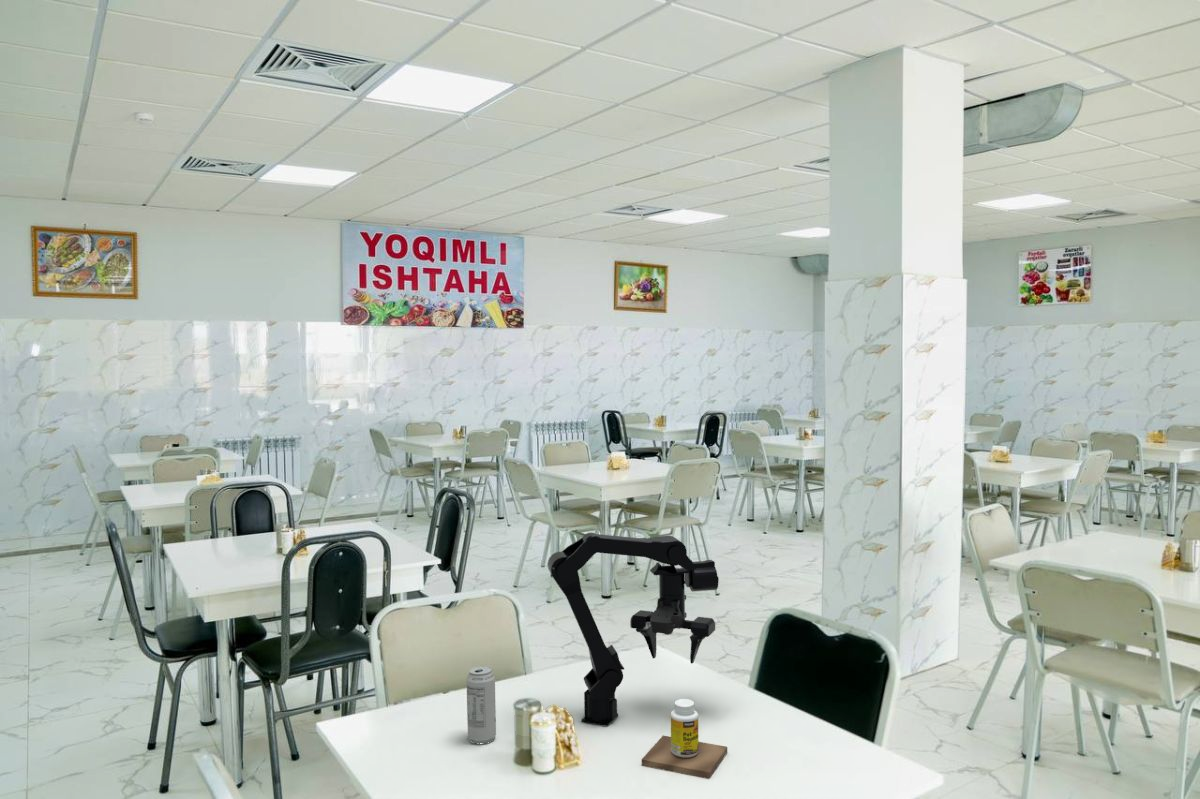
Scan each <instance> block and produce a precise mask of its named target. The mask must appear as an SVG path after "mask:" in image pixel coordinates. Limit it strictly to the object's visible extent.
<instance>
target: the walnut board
mask: <svg viewBox="0 0 1200 799" xmlns="http://www.w3.org/2000/svg"><path fill="white" fill-rule="evenodd" d="M698 745H699V747H698V748H699V749H698V753H697V754H696V755H695V756H693V757H689V758H682V757H678V756H676V755H674V754H673V753H672V751H671V736H669V735H663V734H662V736H661V737H660V738H659V739H658V740H657V741H656V743H654V745H653V746H652V747H651V748H650V749H649V750H648V752H647V753H646V754H645V755H644V756H643V757H642V758H641V766H642V767H643V766H644V767H648V768H654V769H658V770H663V769H664V771H668V770H669V772H674V771H675V772H674V773H678V772H679V774H683V773H684V775H688V774H689V775H688V776H695V777H700V778H704V777H705V778H706V779H709V778H710V779H711V777H712V776H713V774H714V773H715V771H716V770H717V769H718V767H719V766H720V764H721V763H722V762H723V760H724V758H725V757H726V755H727V753H728V746H725V745H720V744H714V743H708V742H702V741H698Z"/></svg>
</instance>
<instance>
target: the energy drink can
mask: <svg viewBox="0 0 1200 799" xmlns="http://www.w3.org/2000/svg"><path fill="white" fill-rule="evenodd" d="M468 672H469V673H468V674H467V676H466V712H467V715H466V720H467V738H468V739H469V740H470V742H471V741H472V742H473V744H474V743H479V744H478V745H481V744H480V743H486V744H489V743H488V742H490V741H491V742H493V741H494V738H495V737H497V736H496V735H497V718H496V717H497V716H496V713H497V710H496V707H497V706H496V675H495V674H494V673H493V668H492V667H491V666H484V665H480V666H474V667H471V668H470V669H469V671H468ZM492 740H493V741H492ZM472 742H471V743H472ZM491 742H490V743H491Z"/></svg>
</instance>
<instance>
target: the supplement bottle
mask: <svg viewBox="0 0 1200 799" xmlns="http://www.w3.org/2000/svg"><path fill="white" fill-rule="evenodd" d="M695 708H696V706H695V702H694V701H693V700H691V699H687V698H682V699H681V698H680V699H676V700H675V702H674V709H673V710H671V713H670V737H671V751H672V753H673V754H674V755H676V756H678V757H682V758H689V757H693V756H695V755H696V754H697V753H698V749H699V748H698V747H699V745H698V742H699V712H698V711H697V710H696V709H695Z"/></svg>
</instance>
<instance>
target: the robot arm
mask: <svg viewBox="0 0 1200 799" xmlns="http://www.w3.org/2000/svg"><path fill="white" fill-rule="evenodd" d="M597 553H599V554H610V555H617V556H618V555H620V556H629V557H640V558H646V559H647V558H648V559H650V560H652V561H656V563H655V565H654V566H652V568H650V570H649V571H650V573H651V574H652V575H653V576H659V577H658V578H659V581H658V582H659V583H658V585H659V586H658V587H659V590H658V591H659V592H658V593H659V597H658V598H657V602H656V603H657V605H656V609H655V610H654V611H653V610H652V611H651V610H650V611H649V610H641V609H640V610H639V611H637V612H636V613H634V614H633V615H632V616H631V617H630V626H629V627H630V628H631V629H635V631H636V632H637V633H640V634H641V635H642V636H643V638H644V640H645V642H646V644H647V647H648V650H649V652H650V655H651V658H652V659H656V657H657V634H664V635H667V636H669V635H672V634H673V632H674V630H675V629H678V630H679V629H683V630H684V629H685V630H690V632H691V635H690V636H689V640H690V655H689V656H690V657H689V658H690V664H692V665H693V664H694V663H695V660H696V657H697V654H698V652H699V649H700V645H701V644H702V642H703V640H704V639H705V638H708V637H710V636H711V635H712V634H713V633H714V632H715V631H716V622H715V619H714V618H712V617H707V616H706V617H704V616H697V617H696V618H695V619H694V620H689V619H688V620H687V619H686V618H687V612H686V604H685V602H686V600H687V594H685V592H686V591H685V587H686V588H689V590H690V591H691V592H706V591H707V592H708V591H716V590H718V588H719V582H720V581H719V576H718V572H717V568H716V564H715V563H716V562H715V561H714V560H712V559H706V560H700V561H693V560H691V559H690V557H689V556H688V555H687V554H688V553H687V547H686V545H685V544H684V542H682V541H680V540H679V539H678V538H677V537H675V536H673V535H659V536H653V537H648V538H647V537H646V538H642V537H641V538H640V537H639V538H638V537H632V536H631V537H630V536H620V535H619V536H618V535H609V534H600V533H594V532H593V531H592V532H587V533H585V534H584V535H583V536H582V537H580V539H578V540H576V541H574V542H573V543H571V544H569V545H568V546H566V547H565V548H564V549H563V550H561V551H555V552H554V553H552V554H551V556H550V557H549V558H548V560H547V569H548V571H549V572H550V573H549V574H550V575H551V576H552V578H553V580H554V582H556V584H557V586H558V587H559V588H560V590H561V591H562V593H563V595H564V596H565V598H566V600H567V602H568V604H569V607H570V609H571V611H572V614H573V616H574V618H575V620H576V622H577V624H578V627H579V630H580V631H581V634H582V636H583V639H584V641H585V643H586V646H587V647H588V652H589V658H590V664H591V669H590V671H588V673H586V674H585V675H584V677H583V681H584V683H585V685H586V686H585V687H587V689H586V690H585V691H584V692H583V693H584V694H583V696H584V697H583V698H584V699H583V700H584V702H583V704H584V705H583V706H584V708H583V709H584V716H582V718H581V723H587V724H593V725H598V726H603V727H608V726H609V725H610V724H612V722H614V721H615V720H616V719H617V718H618V717H619V713H618V700H617V698H616V690H617V688H618V687H619V686H620V685H621V684H622V681H623V679H624V674H623V673H624V672H623V670H625V667H624V666H623V664H622V663H621V661H620V658H619V653H618V651H616V649H615V647H614V646H613V644H610V645H609V646H607V645H606V644H605V641H604V640H603V637H602V635H601V633H600V630H599V629H598V626H597V623H596V621H595V619H594V616H593V615H592V612H591V610H590V606H589V605H588V603H587V600H586V598H585V596H584V593H583V591H582V585H581V580H580V576H579V570H581V569H582V568H583V567H584V566H585V565H586V564H587V563H588V562H589V561H590V559H592V557H594V556H595V555H596V554H597ZM661 563H662V564H666V565H661ZM675 566H680V567H681V568H679V567H678V568H676V567H675Z"/></svg>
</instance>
